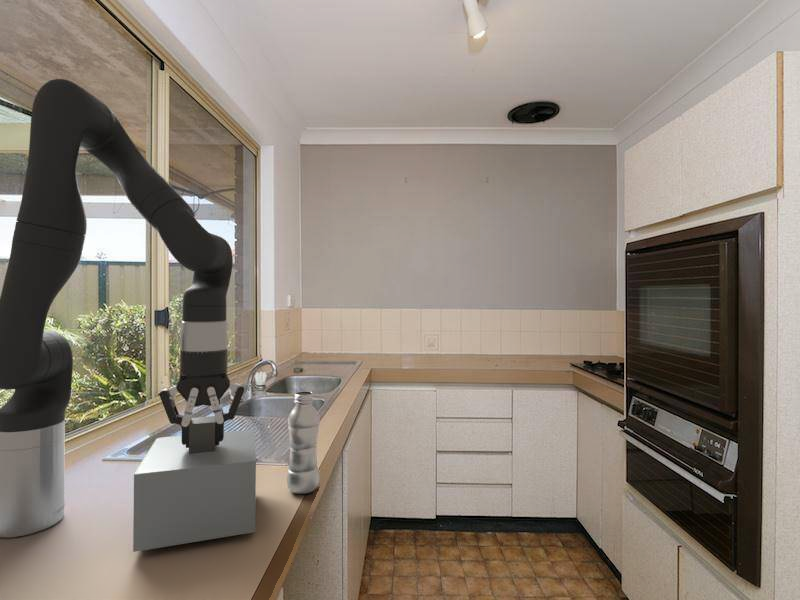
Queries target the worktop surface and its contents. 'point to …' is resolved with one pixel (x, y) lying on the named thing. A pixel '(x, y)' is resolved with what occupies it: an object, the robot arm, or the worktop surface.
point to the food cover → (195, 488)
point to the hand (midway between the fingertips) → (203, 444)
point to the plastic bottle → (303, 445)
